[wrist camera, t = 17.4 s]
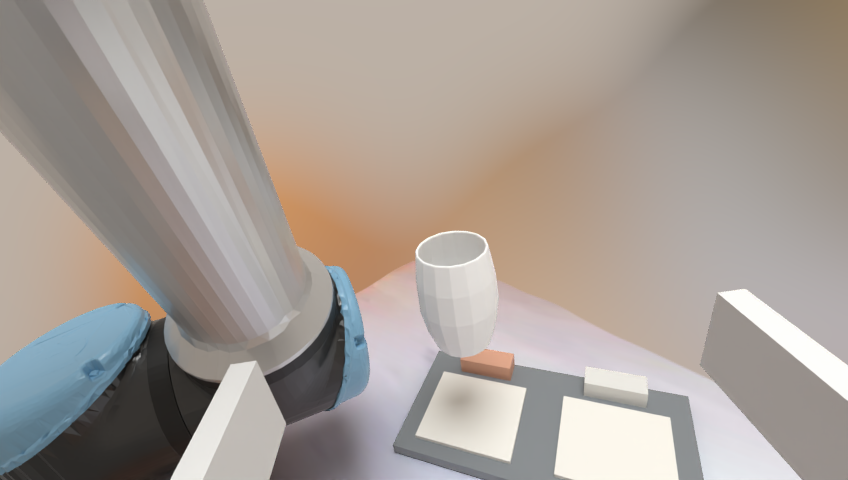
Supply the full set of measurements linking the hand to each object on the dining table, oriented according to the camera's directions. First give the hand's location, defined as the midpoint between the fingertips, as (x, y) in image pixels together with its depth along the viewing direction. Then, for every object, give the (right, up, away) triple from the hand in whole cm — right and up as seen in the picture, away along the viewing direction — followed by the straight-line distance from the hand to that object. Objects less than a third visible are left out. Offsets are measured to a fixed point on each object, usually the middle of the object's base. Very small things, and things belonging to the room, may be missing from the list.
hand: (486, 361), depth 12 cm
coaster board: (+11, -16, +30) cm, 36 cm away
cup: (+4, -15, +32) cm, 35 cm away
